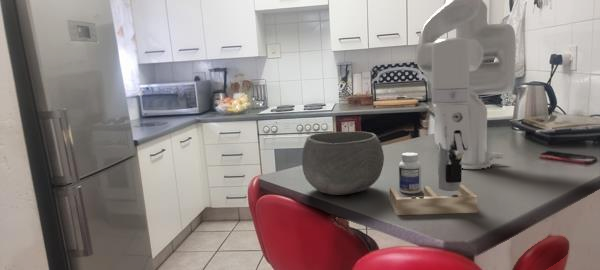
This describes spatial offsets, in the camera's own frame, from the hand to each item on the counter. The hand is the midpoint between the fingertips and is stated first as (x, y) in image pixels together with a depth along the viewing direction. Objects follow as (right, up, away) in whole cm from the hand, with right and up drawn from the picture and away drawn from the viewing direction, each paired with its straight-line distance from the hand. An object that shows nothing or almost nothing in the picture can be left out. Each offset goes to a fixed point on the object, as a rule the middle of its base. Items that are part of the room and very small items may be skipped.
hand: (449, 178), depth 89 cm
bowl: (-22, -6, +16) cm, 27 cm away
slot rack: (-4, -7, +1) cm, 8 cm away
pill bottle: (-5, -5, +14) cm, 15 cm away
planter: (0, -2, 0) cm, 3 cm away
